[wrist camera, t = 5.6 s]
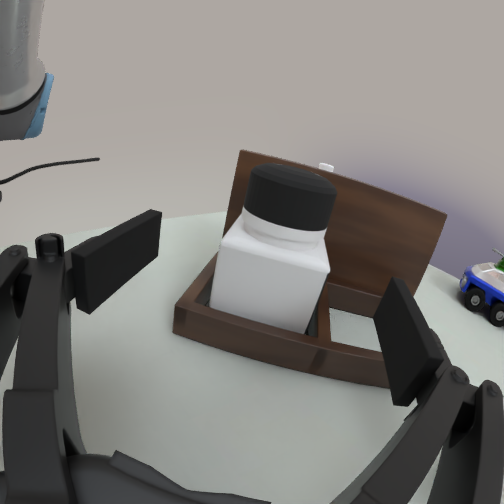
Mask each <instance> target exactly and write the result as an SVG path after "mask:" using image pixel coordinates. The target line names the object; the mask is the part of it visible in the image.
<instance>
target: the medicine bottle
mask: <svg viewBox="0 0 504 504" xmlns="http://www.w3.org/2000/svg"><path fill="white" fill-rule="evenodd" d="M336 196H337V190H336V188H335V186H334V185H333V184H332V183H331V182H330V181H329V180H328V179H326V178H325V177H322V176H320V175H318V174H315V173H312V172H310V171H307V170H304V169H300V168H297V167H293V166H288V165H282V164H275V163H265V164H261V165H257V166H255V167H254V168H253V169H251V172H250V177H249V182H248V186H247V191H246V195H245V200H244V205H243V209H242V214H241V215H240V216H239V217H238V219H237V220H236V221H235V223H234V224H233V225H232V227H231V228H230V229H229V231H228V232H227V233H226V234H225V236H224V237H223V238H222V240H221V242H220V245H219V251H218V256H217V262H216V267H215V273H214V279H213V284H212V290H211V296H210V302H209V307H210V308H214V309H217V310H220V311H223V312H226V313H230V314H233V315H236V316H240V317H243V318H246V319H250V320H253V321H257V322H260V323H264V324H267V325H271V326H275V327H278V328H282V329H286V330H289V331H293V332H297V333H301V334H306V332H307V330H308V327H309V325H310V322H311V320H312V317H313V315H314V312H315V310H316V307H317V305H318V302H319V300H320V297H321V294H322V292H323V289H324V287H325V284H326V281H327V278H328V276H329V273H330V266H329V261H328V256H327V251H326V247H325V242H324V236H325V232H326V229H327V226H328V223H329V220H330V216H331V213H332V210H333V206H334V203H335V200H336Z"/></svg>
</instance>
